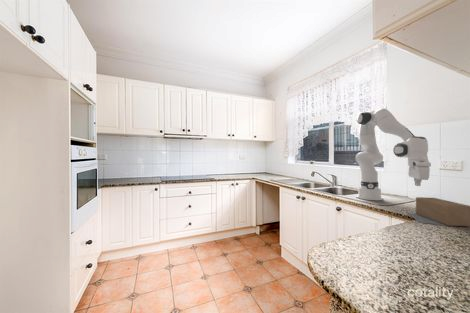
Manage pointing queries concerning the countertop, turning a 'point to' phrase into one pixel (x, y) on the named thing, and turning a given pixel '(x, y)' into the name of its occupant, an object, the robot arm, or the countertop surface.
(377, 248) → the countertop surface
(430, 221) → the mat
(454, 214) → the wooden block
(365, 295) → the countertop surface
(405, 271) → the countertop surface
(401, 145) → the robot arm
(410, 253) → the countertop surface
